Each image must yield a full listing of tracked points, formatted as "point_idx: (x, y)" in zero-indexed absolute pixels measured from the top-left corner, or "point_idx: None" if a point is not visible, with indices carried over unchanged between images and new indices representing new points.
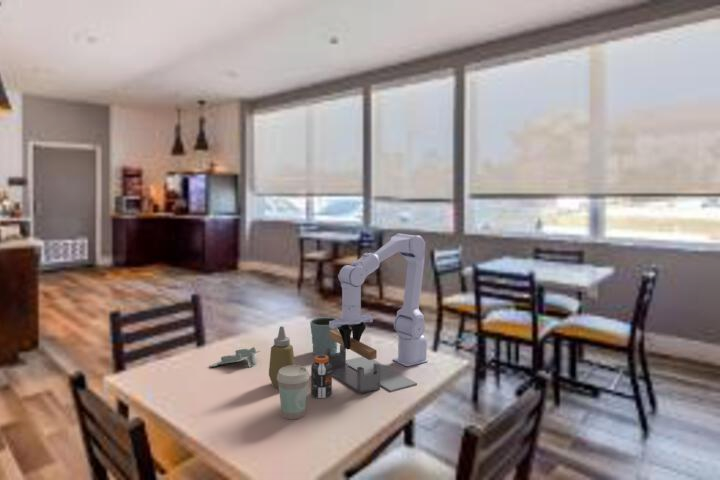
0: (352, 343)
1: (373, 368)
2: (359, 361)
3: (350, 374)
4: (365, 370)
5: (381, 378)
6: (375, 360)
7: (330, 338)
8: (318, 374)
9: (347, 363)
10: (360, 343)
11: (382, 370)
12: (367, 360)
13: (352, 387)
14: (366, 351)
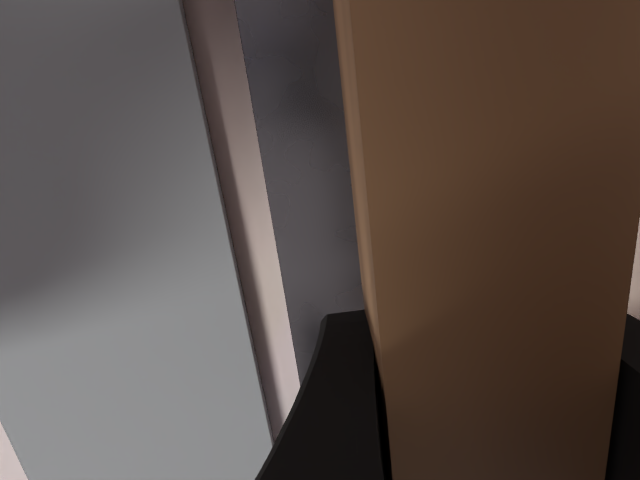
0: (625, 253)
1: (78, 280)
2: (151, 449)
3: (354, 221)
4: (171, 267)
5: (78, 10)
6: (3, 425)
7: None
8: None
9: (265, 445)
10: (446, 109)
11: (2, 206)
12: (75, 446)
13: None
14: None
